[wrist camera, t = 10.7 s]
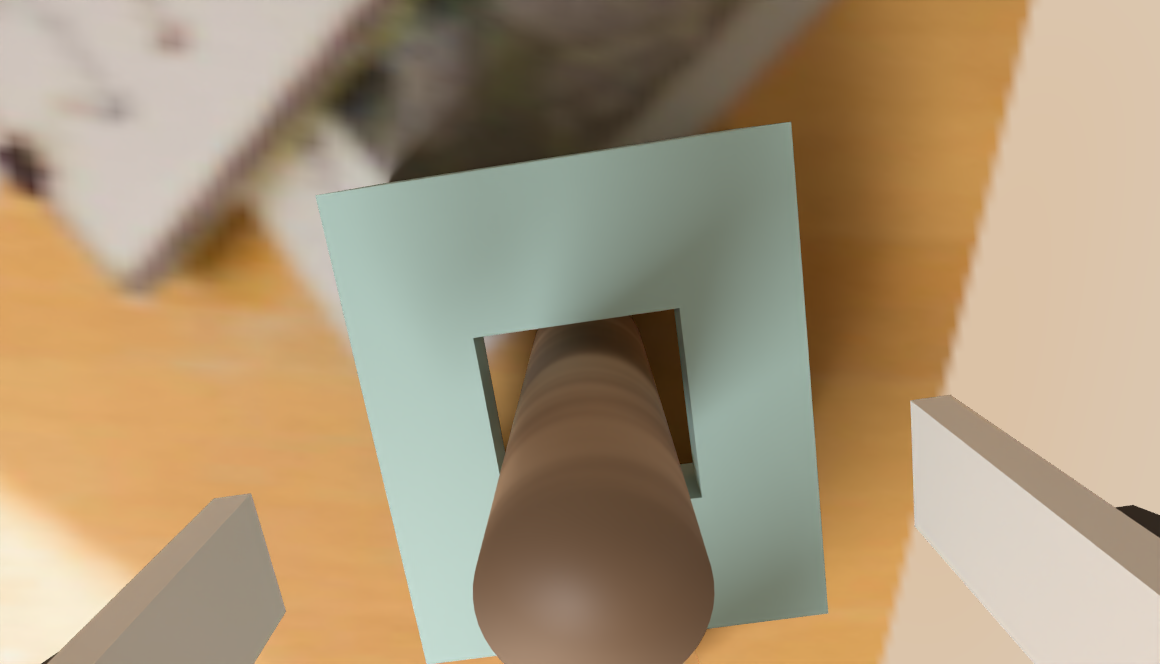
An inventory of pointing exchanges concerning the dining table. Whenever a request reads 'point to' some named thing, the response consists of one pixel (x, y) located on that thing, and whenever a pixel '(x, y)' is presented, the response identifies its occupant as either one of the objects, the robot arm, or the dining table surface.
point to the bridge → (579, 294)
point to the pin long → (592, 514)
